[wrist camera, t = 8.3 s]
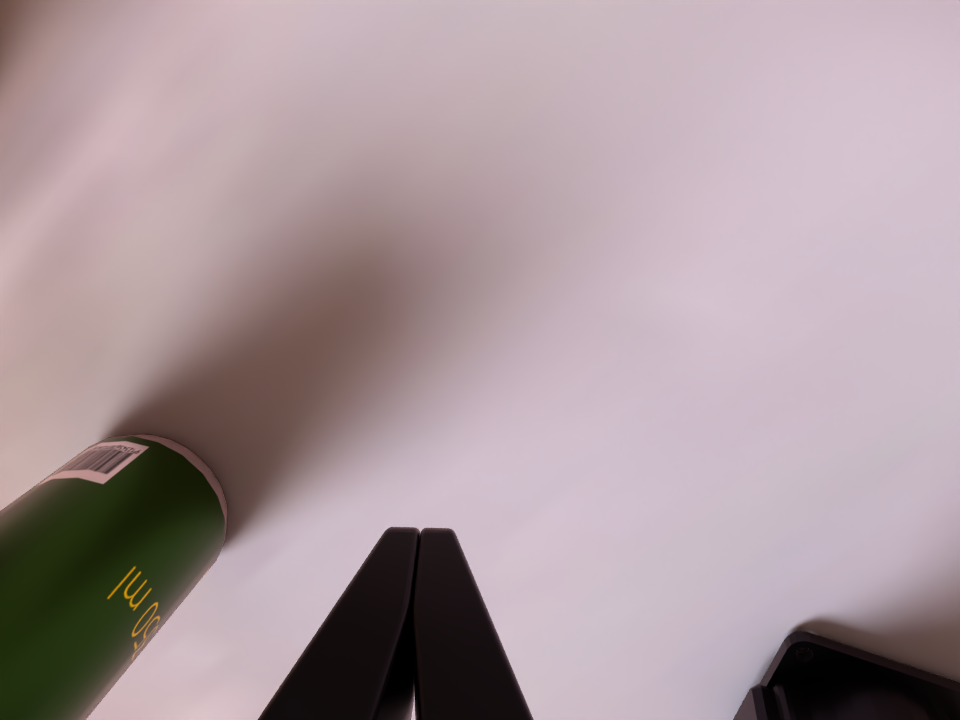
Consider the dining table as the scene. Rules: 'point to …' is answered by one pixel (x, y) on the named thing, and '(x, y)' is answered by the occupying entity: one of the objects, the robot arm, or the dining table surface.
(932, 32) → the dining table surface
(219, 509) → the beer can
